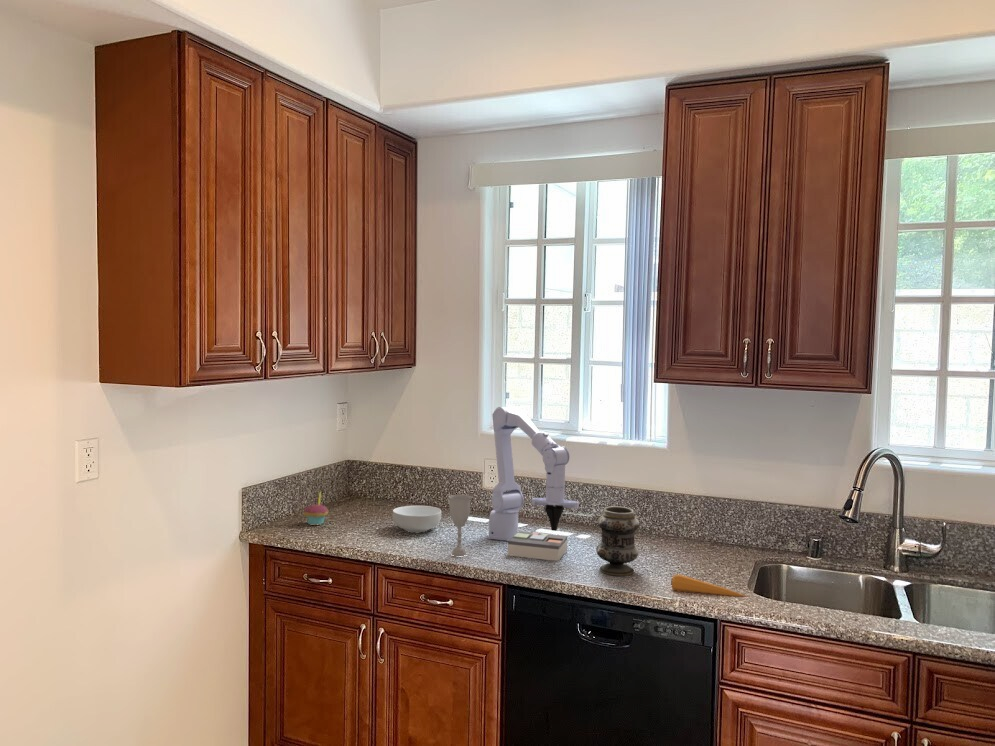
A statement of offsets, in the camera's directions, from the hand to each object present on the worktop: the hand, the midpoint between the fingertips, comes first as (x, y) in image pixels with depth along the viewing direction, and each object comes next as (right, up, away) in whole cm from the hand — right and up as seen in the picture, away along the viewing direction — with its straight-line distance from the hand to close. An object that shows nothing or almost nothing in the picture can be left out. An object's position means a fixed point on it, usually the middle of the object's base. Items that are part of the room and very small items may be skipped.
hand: (554, 529), depth 227 cm
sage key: (-10, -5, +3) cm, 11 cm away
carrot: (+39, -10, -32) cm, 51 cm away
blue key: (-5, -5, +2) cm, 7 cm away
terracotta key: (0, -6, 0) cm, 6 cm away
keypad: (-5, -8, +2) cm, 9 cm away
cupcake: (-82, -5, +32) cm, 88 cm away
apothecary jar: (+17, -9, -15) cm, 24 cm away
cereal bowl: (-45, -6, +26) cm, 53 cm away
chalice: (-29, -8, -2) cm, 30 cm away
